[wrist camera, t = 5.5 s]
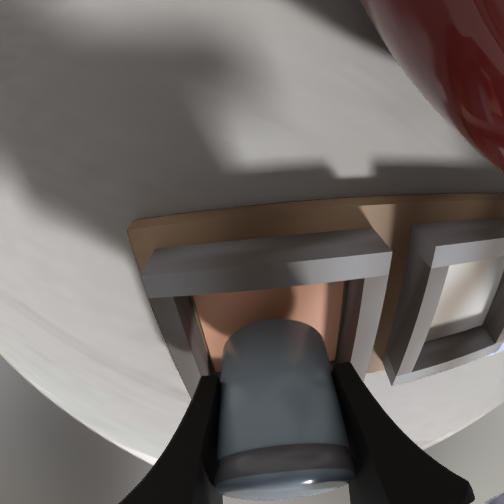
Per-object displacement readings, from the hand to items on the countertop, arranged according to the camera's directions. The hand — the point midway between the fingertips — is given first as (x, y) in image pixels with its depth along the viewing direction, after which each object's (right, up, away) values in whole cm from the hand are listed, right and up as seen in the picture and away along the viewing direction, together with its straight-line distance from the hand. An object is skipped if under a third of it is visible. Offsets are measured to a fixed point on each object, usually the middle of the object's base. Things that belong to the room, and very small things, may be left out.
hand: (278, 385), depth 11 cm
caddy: (+5, +3, +4) cm, 7 cm away
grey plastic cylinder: (0, +1, +2) cm, 2 cm away
